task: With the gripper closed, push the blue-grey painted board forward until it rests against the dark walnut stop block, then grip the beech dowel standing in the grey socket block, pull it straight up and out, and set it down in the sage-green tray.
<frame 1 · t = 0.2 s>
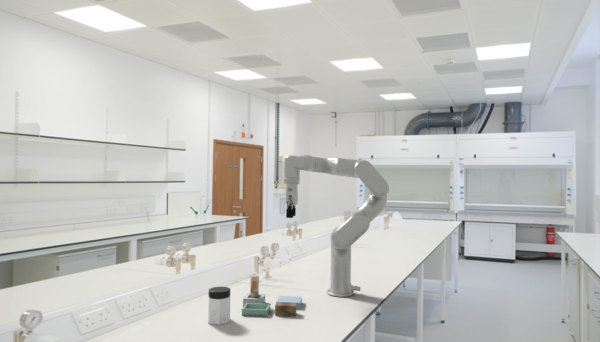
hand: (290, 216, 197), 36 cm above the lab bench, tool pointing down, fingers open, 9 cm apart
dowel: (254, 290, 177), in the socket block
socket block: (254, 304, 176), on the lab bench
stop block: (285, 314, 164), on the lab bench
tray: (256, 312, 166), on the lab bench
jar: (219, 321, 155), on the lab bench
board: (289, 306, 176), on the lab bench
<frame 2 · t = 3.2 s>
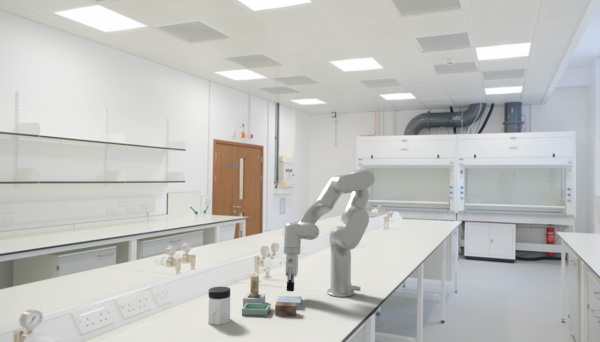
hand: (290, 290, 187), 3 cm above the lab bench, tool pointing down, fingers closed
nothing on the lab bench moved.
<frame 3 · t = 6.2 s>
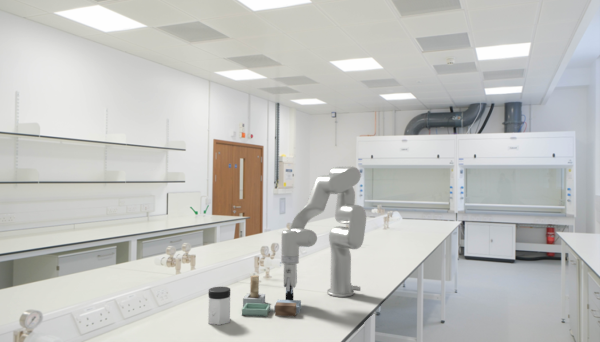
hand: (289, 302, 177), 1 cm above the lab bench, tool pointing down, fingers closed
board: (287, 310, 171), on the lab bench
everything else where it was.
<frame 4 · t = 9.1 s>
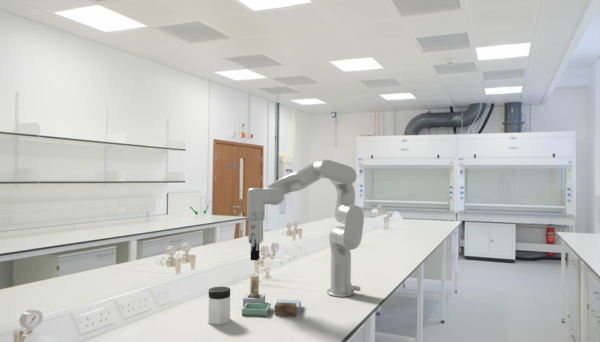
hand: (255, 259, 177), 19 cm above the lab bench, tool pointing down, fingers closed
nothing on the lab bench moved.
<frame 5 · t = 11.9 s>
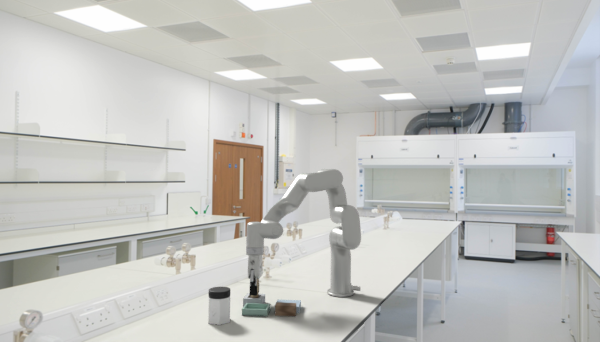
hand: (254, 293, 177), 5 cm above the lab bench, tool pointing down, fingers closed on dowel, 3 cm apart
dowel: (254, 290, 177), in the socket block, touching gripper
everything else where it was.
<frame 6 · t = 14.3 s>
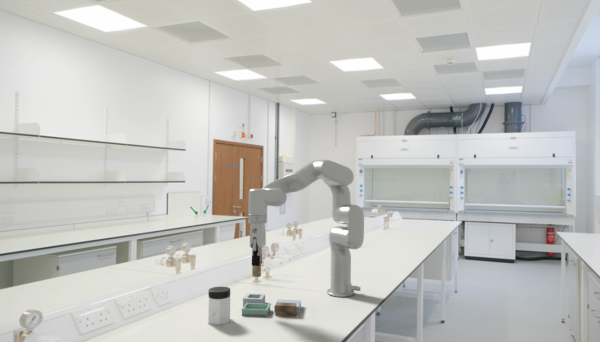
hand: (256, 264, 167), 19 cm above the lab bench, tool pointing down, fingers closed on dowel, 3 cm apart
dowel: (256, 261, 167), point 21 cm above the lab bench, touching gripper
everything else where it was.
when the fingers open (7 cm above the lab bench, at t = 17.0 s): dowel drops 1 cm, resting on tray.
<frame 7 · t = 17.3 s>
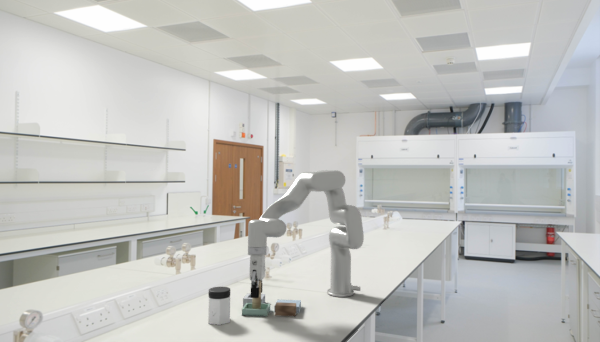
hand: (256, 294, 166), 7 cm above the lab bench, tool pointing down, fingers open, 6 cm apart
dowel: (256, 296, 166), in the tray, point 7 cm above the lab bench
everything else where it was.
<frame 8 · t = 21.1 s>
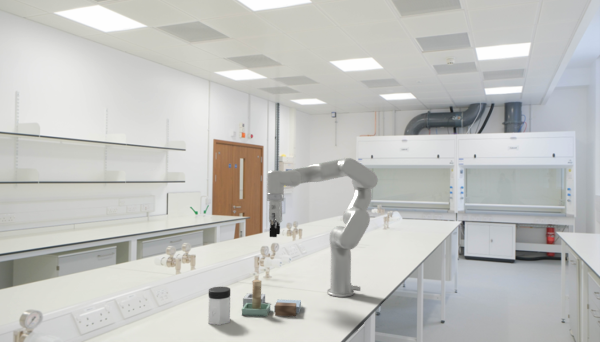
hand: (274, 235, 186), 28 cm above the lab bench, tool pointing down, fingers open, 9 cm apart
nothing on the lab bench moved.
at the end: board inside the target area (0.3 cm from its centre), on the lab bench; dowel inside the target area (0.1 cm from its centre), point 6.6 cm above the lab bench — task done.
